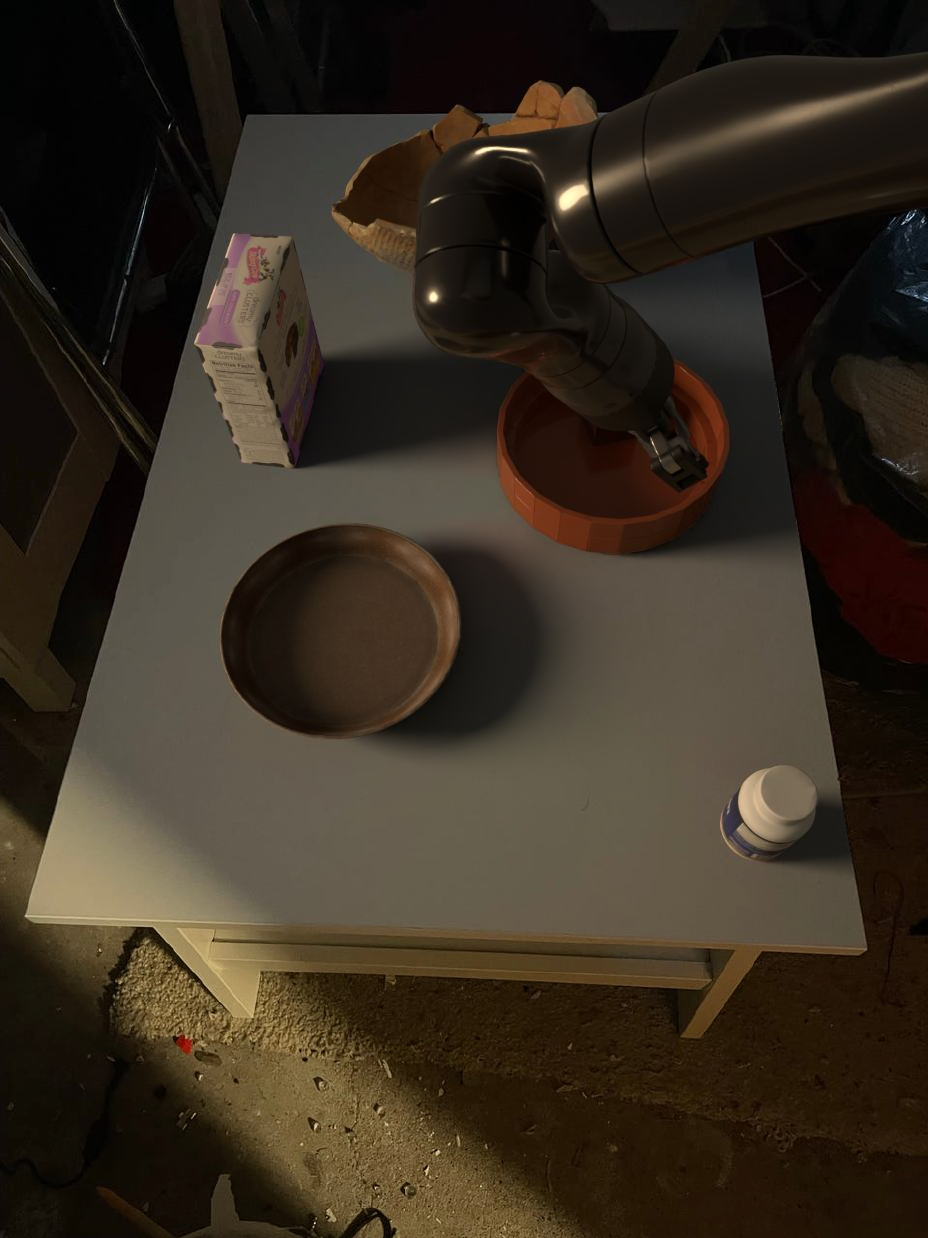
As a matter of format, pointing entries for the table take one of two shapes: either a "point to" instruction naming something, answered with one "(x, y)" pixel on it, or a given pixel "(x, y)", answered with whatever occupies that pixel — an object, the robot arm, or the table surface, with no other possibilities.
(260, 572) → the plant saucer
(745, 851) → the pill bottle
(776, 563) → the table surface
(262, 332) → the candy box
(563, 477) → the bowl
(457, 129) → the ceramic bowl
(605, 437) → the block
